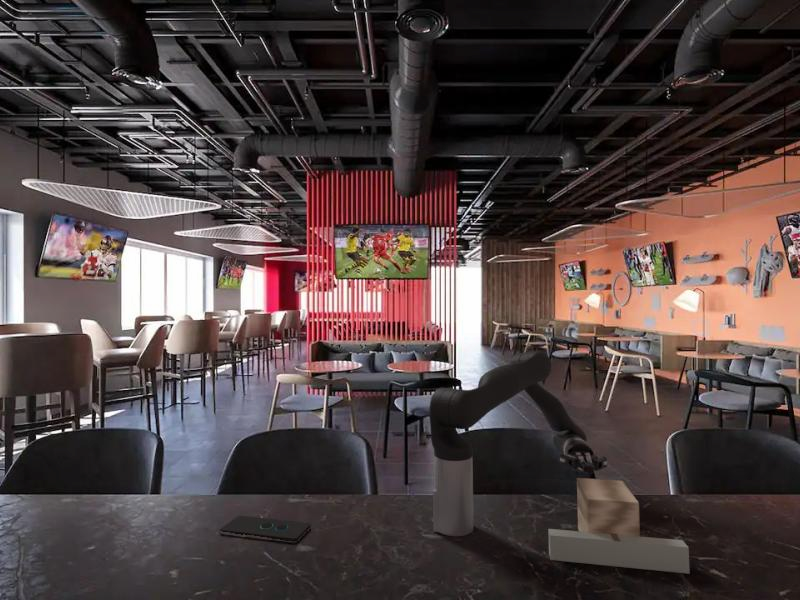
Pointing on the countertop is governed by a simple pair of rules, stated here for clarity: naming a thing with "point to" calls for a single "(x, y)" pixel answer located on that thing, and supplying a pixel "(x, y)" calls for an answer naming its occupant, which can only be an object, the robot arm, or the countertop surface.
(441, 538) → the countertop surface
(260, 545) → the countertop surface
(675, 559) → the sage board
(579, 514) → the birch block
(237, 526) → the smart home device
